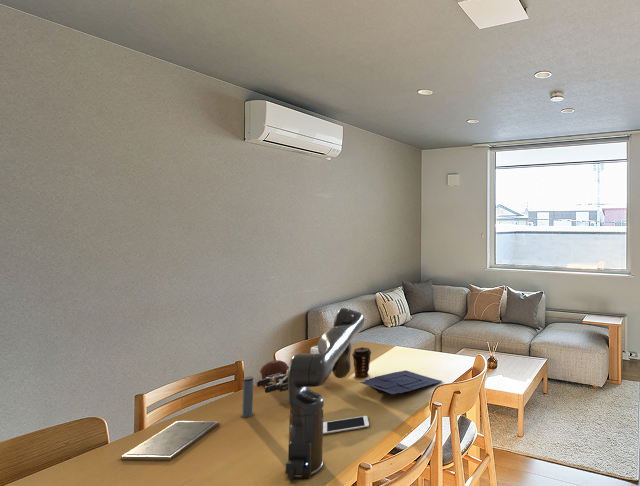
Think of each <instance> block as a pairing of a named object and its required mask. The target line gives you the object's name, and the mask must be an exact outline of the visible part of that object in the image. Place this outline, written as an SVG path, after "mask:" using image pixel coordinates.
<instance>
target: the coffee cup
mask: <svg viewBox="0 0 640 486" xmlns="http://www.w3.org/2000/svg"><path fill="white" fill-rule="evenodd" d="M371 354H372V351H371V349H370V348H369V347H365V346H364V347H356V348H354V349H353V352H352V359H353V368H354V369H353V371H354V378H355V380H365V379H366V378H368V377H369V371H370V364H371Z"/></svg>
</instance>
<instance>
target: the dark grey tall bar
mask: <svg viewBox="0 0 640 486" xmlns="http://www.w3.org/2000/svg"><path fill="white" fill-rule="evenodd" d="M242 383H243V384H242V418H249V417H251V416H253V405H254V404H253V401H254V376H251V375H250V376H245V377H243V380H242Z"/></svg>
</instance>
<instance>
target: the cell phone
mask: <svg viewBox="0 0 640 486" xmlns="http://www.w3.org/2000/svg"><path fill="white" fill-rule="evenodd" d="M369 427H370V422H369V419H368V415H362V416H356V417H348V418H343V419H337V420H330V421H323V435H327V434H333V433H339V432H345V431H346V432H347V431H353V430H358V429H364V428H369Z"/></svg>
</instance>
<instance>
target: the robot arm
mask: <svg viewBox="0 0 640 486" xmlns="http://www.w3.org/2000/svg"><path fill="white" fill-rule="evenodd" d="M333 319H334V320H333V325H332V327H330V328H329V329H327V330H326V331H325V332H324V333H323V334H322V336H321V337H320V339H319V340H318V343H317V346H318V351H319V353H320V354H311V353H296V354H295V355H293V356H292V357H291V359H290V361H289V364H288V367H289V368H288V370H287V373H286V374H283V373H282V372H281V373H277V374H273V375H268V376H267V378H266V379H262V378H261V379H258V380H257V381H256V387H257V388H259V387H264V386H263V385H267V384H273V385H270V386H267V387H264V393H265V394H268V393H271V392H275V391H276V392H280V393H281V392H286V391H288V392H287V393H288V406H289V417H288V418H289V420H288V422H289V423H288V449H287V450H288V451H287V453H288V454H287V457H288V458H287V461H286V463H285V474H286V475H287V478H288V479H290V481H291V482H294V481H295V480H296V479H310V478H311V476H313V475H315V474H316V473H318V472H320V471H321V469H322V468H323V464H324V461H323V455H324V454H323V453H324V452H323V450H324V448H323V447H324V446H323V444H324V443H323V442H324V434H323V422H324V407H325V405H324V400H325V399H324V397H323V396H322V395H321V394H320V393H317V392H315V391H313V390H311V389H310V388H317V387H321V386H323V385H324V384H325V383H327V380H328V379H329V377H330V375H331V373H333V375H334V377H335V378H337V379H344V378H345V377H347V376H348V374H349V373H350V372H351V369H352V366H351V352H352V343H351V342H352V340H353V339H354V338H356V337H357V335H358V334H359V333H360V332H361V331H362V329H363V327H364V323H365V316H364V314H363V313H362V312H360V311H357V310H354V309H350V308H346V307H341V308H340V309H339V310H338V311H337V313H336V315H335V317H334V318H333ZM270 379H272V380H270ZM272 381H273V382H272Z"/></svg>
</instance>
